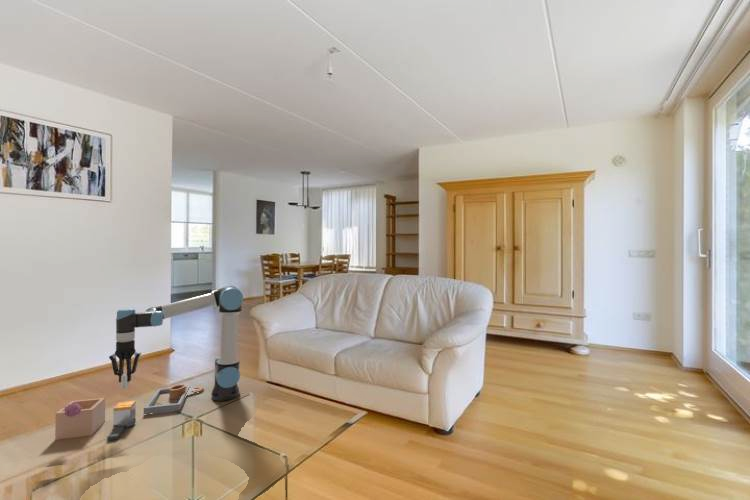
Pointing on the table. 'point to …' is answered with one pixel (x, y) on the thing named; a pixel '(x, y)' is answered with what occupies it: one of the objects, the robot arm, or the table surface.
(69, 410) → the artificial flower
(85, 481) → the table surface
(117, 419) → the orange-topped grey block
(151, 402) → the frame
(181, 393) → the brown long-handled pot
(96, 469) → the table surface
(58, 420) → the open pinkish beige box
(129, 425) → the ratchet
